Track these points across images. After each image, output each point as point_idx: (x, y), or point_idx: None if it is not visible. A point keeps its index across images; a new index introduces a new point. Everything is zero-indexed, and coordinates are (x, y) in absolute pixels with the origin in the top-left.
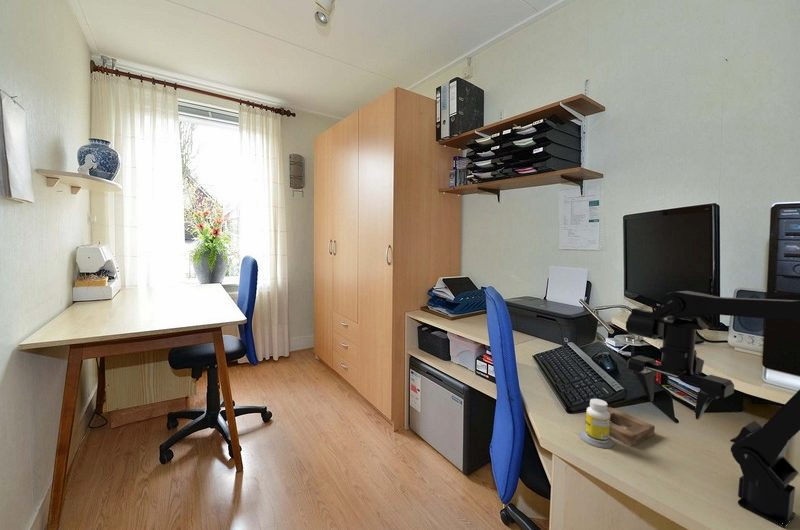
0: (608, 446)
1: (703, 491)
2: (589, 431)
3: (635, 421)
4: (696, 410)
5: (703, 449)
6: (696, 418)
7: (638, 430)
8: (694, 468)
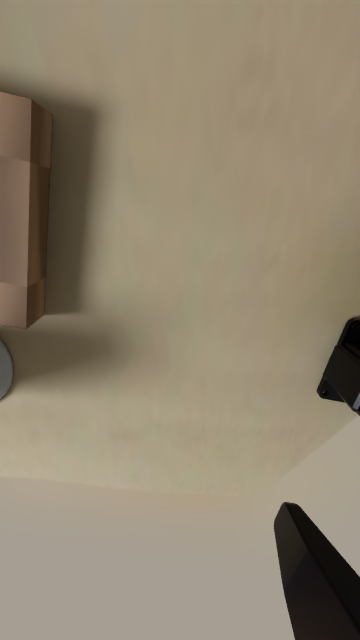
0: (8, 385)
1: (249, 396)
2: None
3: None
4: (301, 638)
5: (234, 72)
6: (278, 530)
7: (14, 241)
8: (221, 291)
